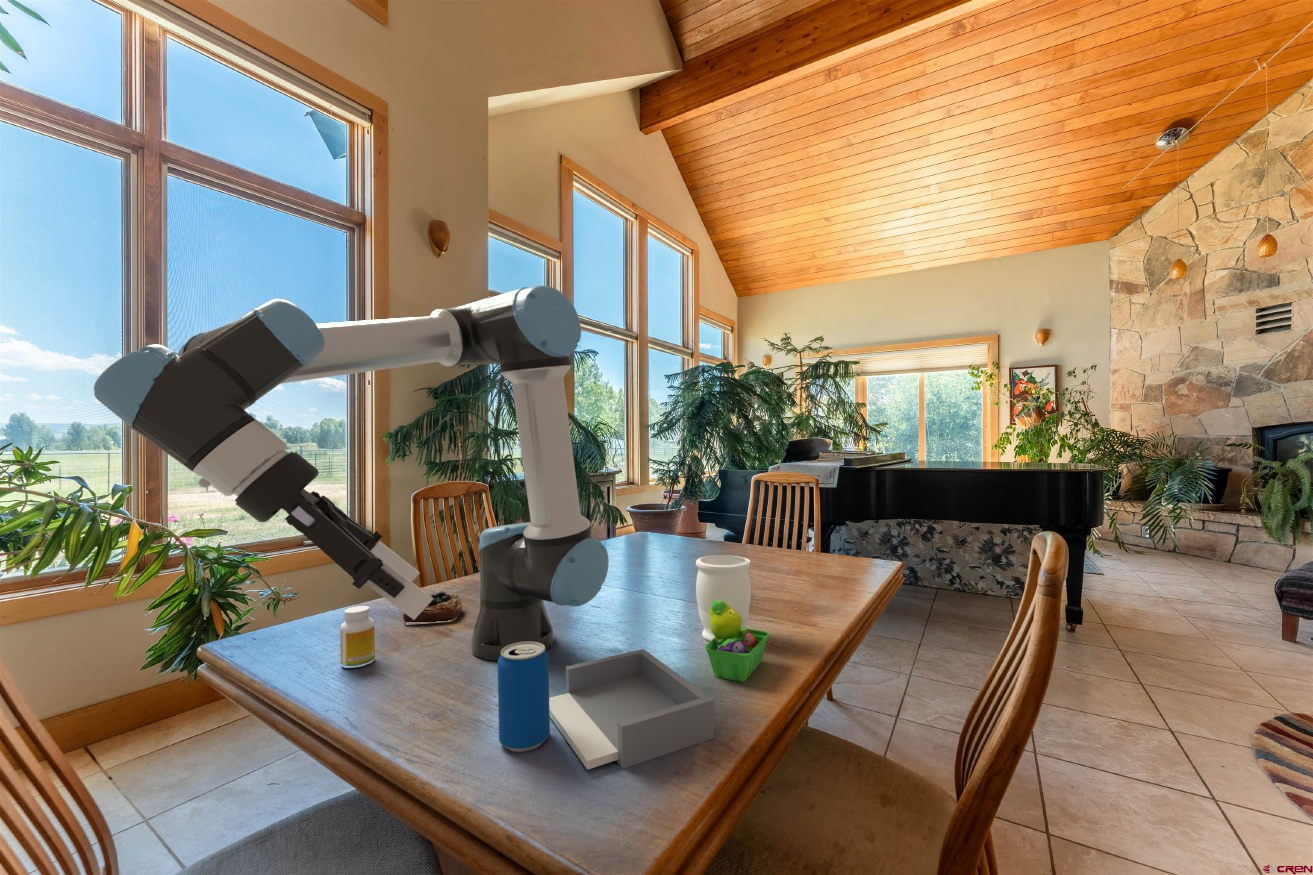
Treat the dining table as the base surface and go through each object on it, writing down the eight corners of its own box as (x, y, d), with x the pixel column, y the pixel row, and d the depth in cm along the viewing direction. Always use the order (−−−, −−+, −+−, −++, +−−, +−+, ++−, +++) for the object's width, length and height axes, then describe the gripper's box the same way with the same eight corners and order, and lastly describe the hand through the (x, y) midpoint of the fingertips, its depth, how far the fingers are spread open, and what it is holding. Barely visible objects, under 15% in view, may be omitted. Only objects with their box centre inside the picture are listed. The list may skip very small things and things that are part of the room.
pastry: (411, 612, 127) (410, 587, 127) (465, 608, 130) (465, 583, 130) (398, 628, 117) (397, 600, 117) (458, 624, 119) (457, 596, 119)
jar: (749, 627, 113) (748, 554, 113) (753, 647, 103) (752, 566, 102) (697, 626, 114) (696, 554, 114) (696, 645, 104) (694, 566, 104)
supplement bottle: (382, 660, 100) (380, 606, 99) (354, 671, 95) (353, 615, 95) (361, 655, 102) (360, 602, 102) (333, 666, 97) (332, 611, 97)
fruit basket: (748, 687, 86) (747, 615, 86) (697, 676, 91) (695, 607, 91) (771, 661, 96) (769, 596, 96) (723, 652, 101) (722, 590, 101)
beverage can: (504, 729, 75) (502, 641, 75) (552, 726, 76) (550, 638, 76) (494, 756, 69) (492, 660, 69) (547, 753, 69) (545, 657, 69)
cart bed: (540, 706, 81) (539, 672, 81) (644, 679, 90) (643, 648, 90) (591, 779, 64) (590, 736, 64) (714, 737, 72) (713, 699, 72)
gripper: (250, 490, 68) (387, 593, 76) (202, 514, 47) (400, 655, 54) (300, 447, 71) (428, 550, 78) (277, 449, 49) (456, 593, 56)
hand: (417, 593), depth 66 cm, fingers open, 13 cm apart
